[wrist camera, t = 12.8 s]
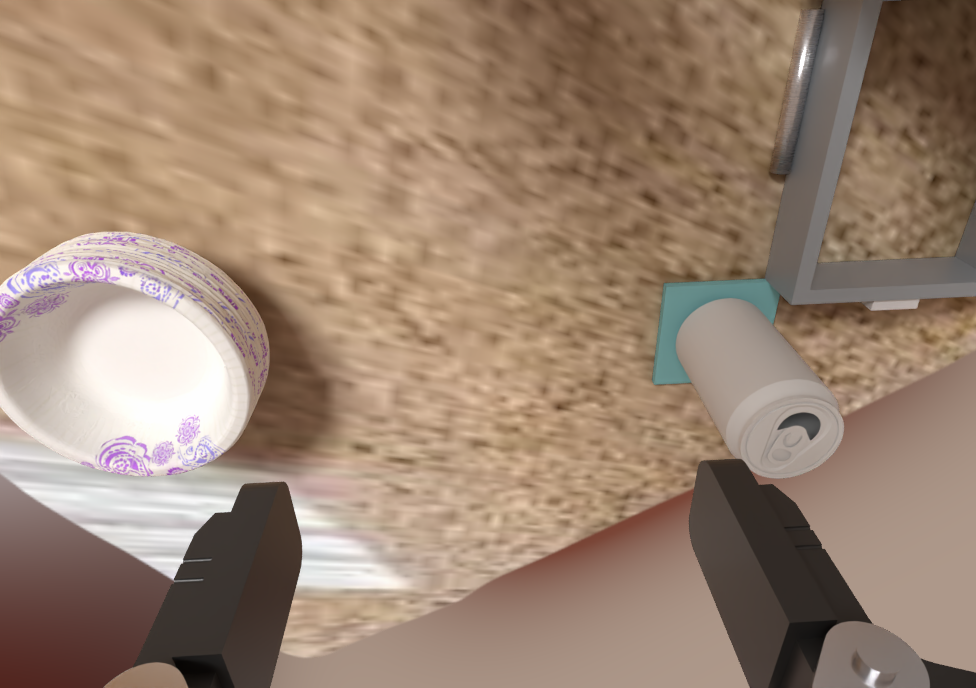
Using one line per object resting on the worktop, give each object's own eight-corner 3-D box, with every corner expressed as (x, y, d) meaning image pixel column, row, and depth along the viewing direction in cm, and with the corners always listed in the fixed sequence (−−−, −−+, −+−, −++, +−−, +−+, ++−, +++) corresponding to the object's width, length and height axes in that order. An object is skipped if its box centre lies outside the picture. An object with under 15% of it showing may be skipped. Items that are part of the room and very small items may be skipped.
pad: (663, 283, 44) (666, 287, 43) (778, 278, 44) (782, 281, 43) (652, 380, 48) (654, 384, 47) (757, 374, 48) (760, 379, 48)
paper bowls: (163, 438, 49) (115, 515, 42) (-4, 281, 42) (-94, 343, 35) (326, 352, 46) (303, 420, 39) (175, 167, 38) (115, 210, 32)
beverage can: (779, 309, 45) (877, 412, 34) (731, 381, 47) (806, 496, 37) (701, 280, 43) (777, 378, 33) (655, 356, 46) (712, 469, 36)
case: (827, -23, 35) (868, -22, 31) (1078, -32, 35) (1146, -32, 32) (762, 289, 44) (788, 316, 41) (960, 279, 45) (1002, 305, 41)
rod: (823, 8, 36) (800, 8, 36) (826, 10, 35) (802, 10, 35) (789, 169, 40) (769, 168, 41) (790, 175, 39) (769, 173, 40)
